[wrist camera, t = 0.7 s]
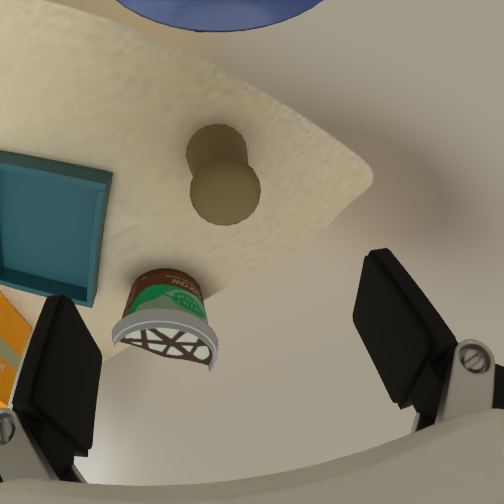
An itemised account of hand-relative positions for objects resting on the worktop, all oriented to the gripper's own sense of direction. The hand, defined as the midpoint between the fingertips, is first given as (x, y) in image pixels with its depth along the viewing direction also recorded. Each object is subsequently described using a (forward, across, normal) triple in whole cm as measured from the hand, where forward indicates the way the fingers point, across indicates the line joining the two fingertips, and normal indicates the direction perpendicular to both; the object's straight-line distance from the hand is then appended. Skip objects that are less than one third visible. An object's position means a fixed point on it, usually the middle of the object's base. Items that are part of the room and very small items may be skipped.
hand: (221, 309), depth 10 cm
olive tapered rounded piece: (+24, -1, +3) cm, 25 cm away
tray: (+24, +20, +8) cm, 32 cm away
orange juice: (+24, +35, +20) cm, 47 cm away
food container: (+24, +6, +18) cm, 31 cm away
